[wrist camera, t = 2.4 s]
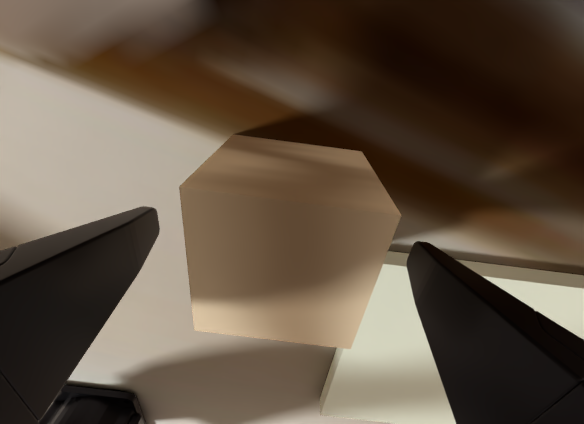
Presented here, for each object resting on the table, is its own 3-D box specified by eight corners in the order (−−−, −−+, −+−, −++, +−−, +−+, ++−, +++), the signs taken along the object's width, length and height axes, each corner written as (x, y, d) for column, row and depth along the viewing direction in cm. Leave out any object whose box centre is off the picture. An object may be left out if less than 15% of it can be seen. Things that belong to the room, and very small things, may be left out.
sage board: (319, 399, 19) (320, 415, 18) (369, 248, 12) (374, 262, 11) (505, 420, 20) (514, 437, 19) (657, 284, 13) (683, 301, 12)
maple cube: (233, 238, 13) (194, 330, 8) (233, 133, 10) (179, 186, 6) (335, 251, 13) (350, 349, 8) (361, 150, 10) (401, 215, 6)
